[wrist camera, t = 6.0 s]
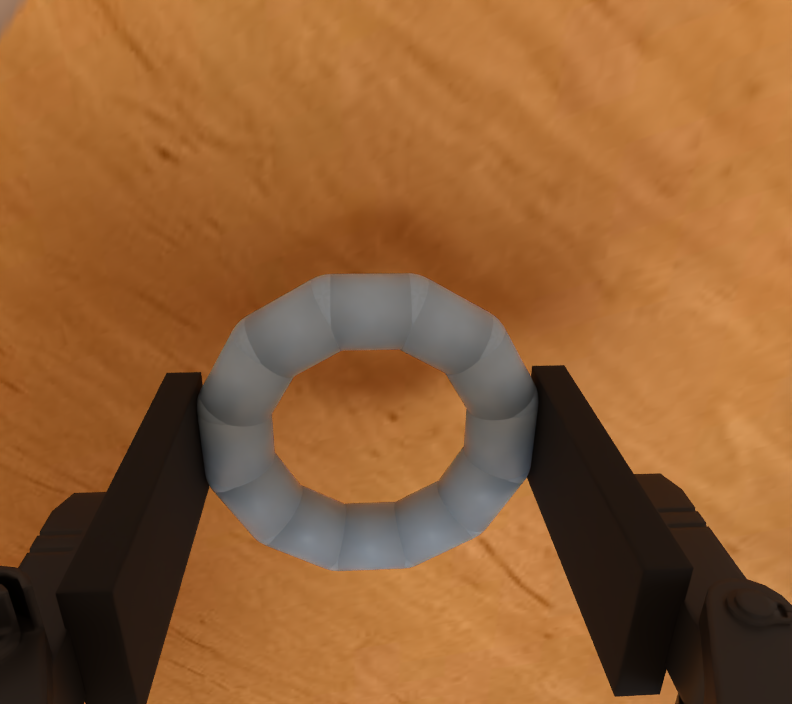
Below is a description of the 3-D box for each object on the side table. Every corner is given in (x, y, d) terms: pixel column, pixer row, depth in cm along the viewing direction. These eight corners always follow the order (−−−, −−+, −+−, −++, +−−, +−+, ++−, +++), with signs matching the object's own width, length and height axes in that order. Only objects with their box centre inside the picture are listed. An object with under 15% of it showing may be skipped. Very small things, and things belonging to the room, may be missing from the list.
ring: (155, 469, 16) (137, 512, 15) (300, 198, 14) (295, 219, 12) (420, 576, 19) (426, 622, 17) (589, 359, 16) (613, 392, 15)
